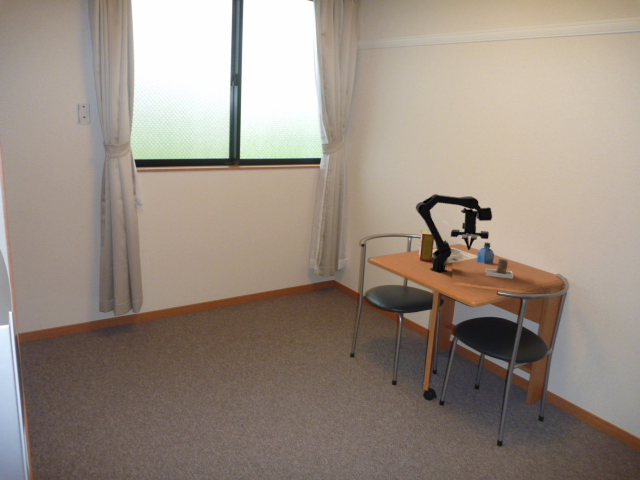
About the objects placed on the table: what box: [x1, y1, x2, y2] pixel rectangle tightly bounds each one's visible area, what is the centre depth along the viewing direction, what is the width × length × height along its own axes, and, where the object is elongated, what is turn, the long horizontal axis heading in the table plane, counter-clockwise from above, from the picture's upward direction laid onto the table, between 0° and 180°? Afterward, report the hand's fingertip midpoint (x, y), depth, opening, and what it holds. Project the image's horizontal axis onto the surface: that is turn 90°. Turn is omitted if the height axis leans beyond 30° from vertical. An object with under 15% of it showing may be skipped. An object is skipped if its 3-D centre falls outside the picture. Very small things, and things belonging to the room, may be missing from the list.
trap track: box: [485, 268, 514, 280], centre depth 249 cm, size 13×7×3 cm, turn 75°
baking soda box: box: [418, 229, 435, 262], centre depth 275 cm, size 10×6×16 cm
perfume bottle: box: [476, 242, 495, 265], centre depth 271 cm, size 6×6×12 cm
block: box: [496, 258, 508, 274], centre depth 248 cm, size 4×4×8 cm
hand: (468, 249), depth 254 cm, fingers closed
